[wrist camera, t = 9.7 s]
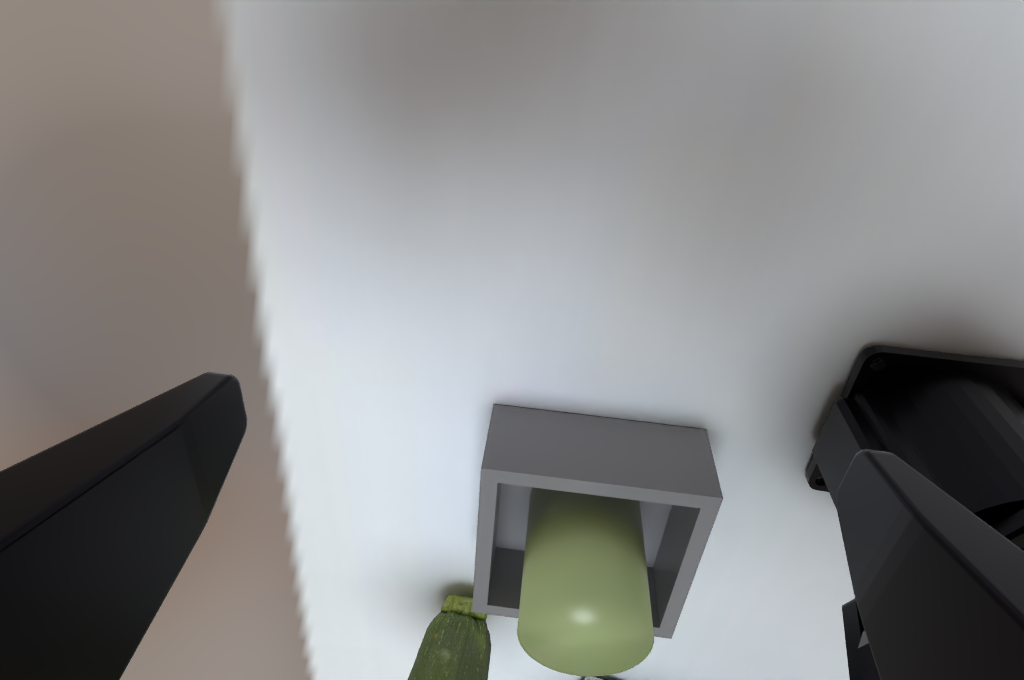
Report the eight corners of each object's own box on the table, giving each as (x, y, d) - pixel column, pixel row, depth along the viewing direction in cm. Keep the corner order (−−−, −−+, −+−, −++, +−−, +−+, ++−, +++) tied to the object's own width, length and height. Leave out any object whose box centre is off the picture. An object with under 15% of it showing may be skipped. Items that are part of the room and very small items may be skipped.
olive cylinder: (648, 468, 25) (665, 603, 20) (630, 545, 27) (641, 683, 22) (534, 455, 25) (521, 586, 20) (526, 533, 27) (513, 667, 22)
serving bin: (706, 429, 24) (722, 498, 21) (662, 566, 29) (671, 638, 26) (493, 404, 24) (481, 468, 21) (483, 543, 29) (472, 611, 26)
